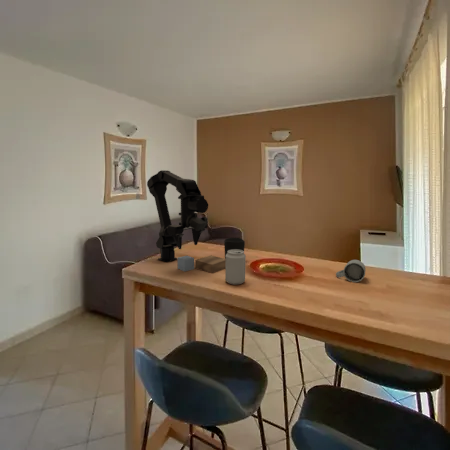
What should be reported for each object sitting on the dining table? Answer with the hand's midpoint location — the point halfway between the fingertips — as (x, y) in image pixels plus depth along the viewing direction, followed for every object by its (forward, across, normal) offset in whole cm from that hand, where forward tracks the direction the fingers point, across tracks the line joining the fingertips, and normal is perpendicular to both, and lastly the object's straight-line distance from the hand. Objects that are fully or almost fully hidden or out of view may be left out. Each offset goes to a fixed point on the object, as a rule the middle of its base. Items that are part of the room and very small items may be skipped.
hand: (188, 247), depth 129 cm
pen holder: (+10, +22, -8) cm, 25 cm away
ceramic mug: (+9, +32, -58) cm, 67 cm away
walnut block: (+10, +7, -7) cm, 14 cm away
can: (+10, 0, -25) cm, 27 cm away
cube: (+10, -1, 0) cm, 10 cm away
